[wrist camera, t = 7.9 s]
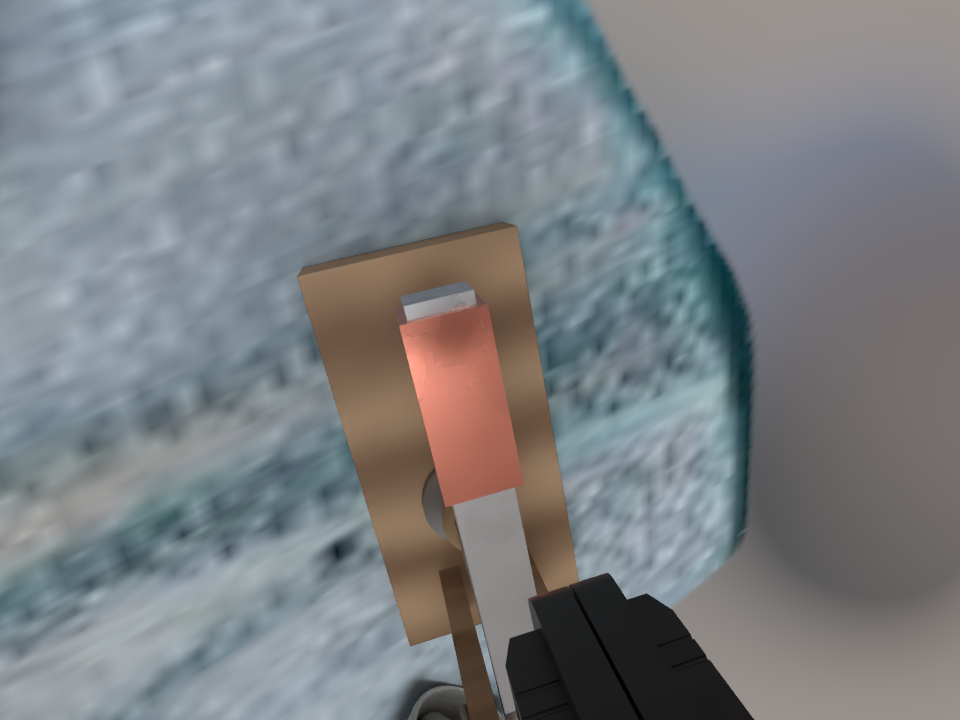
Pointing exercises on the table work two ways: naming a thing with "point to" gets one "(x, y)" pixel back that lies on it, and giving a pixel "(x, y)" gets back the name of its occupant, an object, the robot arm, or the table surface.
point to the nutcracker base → (402, 438)
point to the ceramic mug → (440, 704)
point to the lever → (473, 456)
